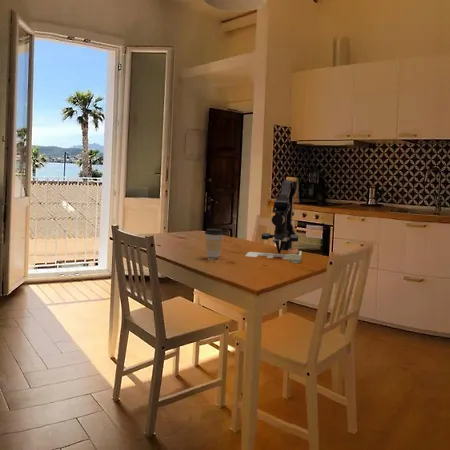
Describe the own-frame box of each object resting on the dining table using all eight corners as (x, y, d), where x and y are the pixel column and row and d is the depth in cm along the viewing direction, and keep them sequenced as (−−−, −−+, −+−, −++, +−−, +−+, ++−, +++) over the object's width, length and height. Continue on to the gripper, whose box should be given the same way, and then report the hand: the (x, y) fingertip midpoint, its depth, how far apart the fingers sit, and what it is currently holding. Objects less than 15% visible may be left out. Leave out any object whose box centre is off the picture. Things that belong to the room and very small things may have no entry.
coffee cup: (206, 261, 227) (207, 230, 225) (202, 257, 236) (203, 228, 234) (224, 260, 230) (226, 230, 228) (220, 257, 239) (221, 228, 237)
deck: (248, 254, 249) (248, 247, 249) (301, 258, 244) (301, 251, 243) (244, 258, 236) (245, 251, 236) (300, 263, 231) (300, 255, 231)
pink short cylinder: (288, 255, 243) (288, 247, 242) (297, 256, 242) (298, 248, 242) (287, 257, 238) (288, 249, 238) (297, 257, 237) (297, 250, 237)
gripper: (261, 224, 233) (259, 254, 235) (298, 226, 230) (296, 257, 232) (263, 222, 244) (261, 251, 246) (299, 224, 241) (297, 253, 243)
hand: (279, 253), depth 242 cm, fingers closed
